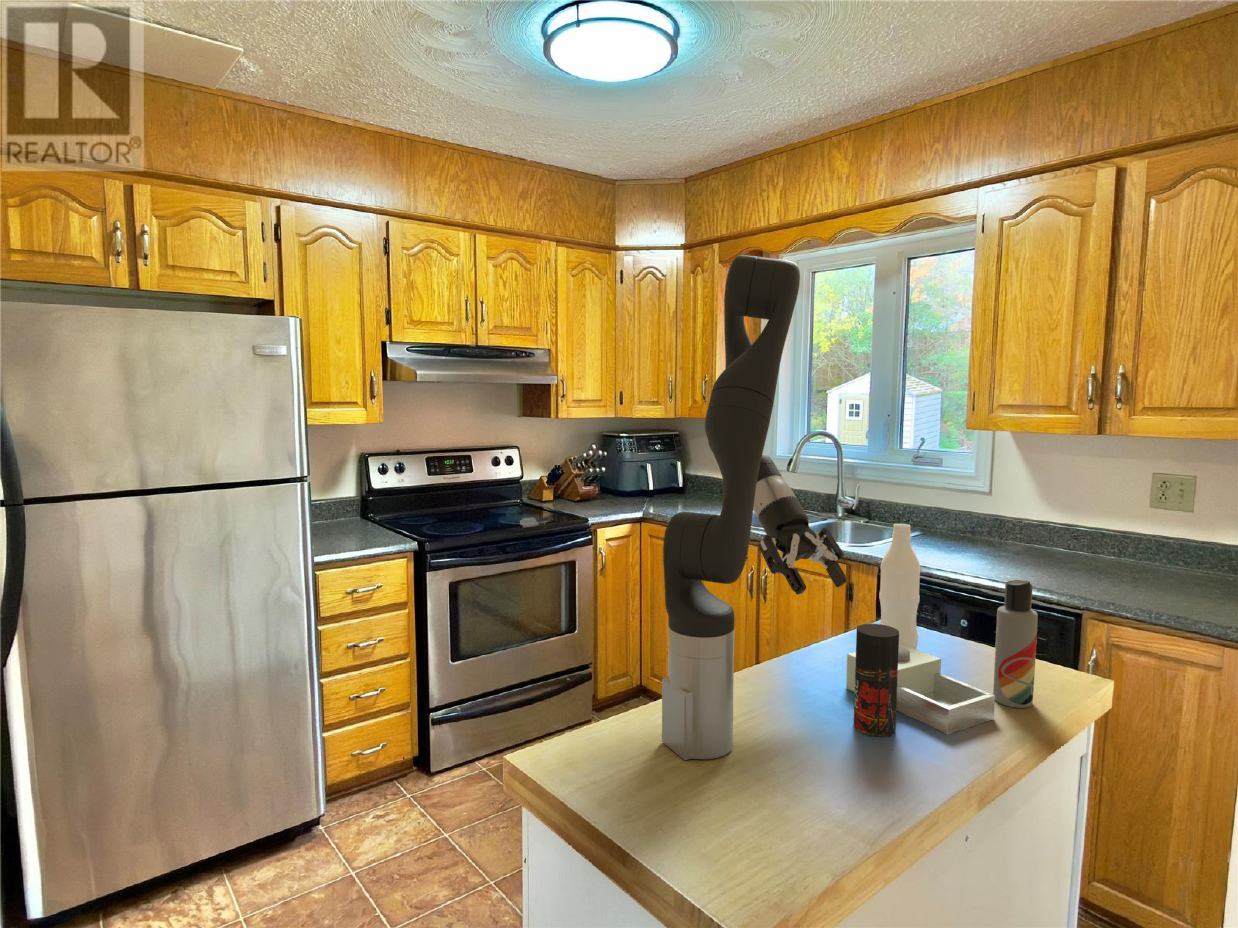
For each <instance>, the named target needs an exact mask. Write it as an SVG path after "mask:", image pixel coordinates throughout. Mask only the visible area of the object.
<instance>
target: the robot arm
mask: <svg viewBox="0 0 1238 928" xmlns="http://www.w3.org/2000/svg"><path fill="white" fill-rule="evenodd" d="M727 271H728V272H727V275H726V281H725V284H724V285H725V286H724V296H723V298H724V300H723V302H724V303H723V317H724V318H723V320H724V325H723V326H724V352H725V365H724V366H725V369H724V370H723V371H722V372H721V373H720V374H719V375H718V377H717V379H716V380H715V381H714V382H713V385H712V390H711V393H710V398H709V403H708V406H707V411H706V415H705V420H704V428H705V434H706V438H707V442H708V446H709V448H710V450H711V452H712V454H713V457H714V458H715V460H716V463H717V466H718V467H719V471H720V475H721V478H722V482H723V501H722V507H721V511H720V514H713V513H704V512H703V513H702V512H691V511H681V512H676V513H675V514H673V516H672V517H671V518H670V519H669V520H668V523H667V525H666V527H665V530H664V536H663V544H662V545H663V546H662V547H663V548H662V553H663V554H662V561H663V563H662V564H663V578H664V579H663V581H664V605H665V610H666V612H667V616H668V617H667V619H668V620H667V621H668V622H667V623H668V624H667V625H668V631H667V632H668V633H667V634H668V638H667V639H668V640H667V644H668V646H667V649H668V650H667V653H668V655H667V677H663V678H662V681H661V687H662V688H661V692H662V693H661V742H662V743H663V744H664V745H666V746H667V747H668V748H669V749H670V750H671V751H673V752H674V753H675V754H676V755H678V756H679V757H680V758H681V759H682V760H684V761H688V760H693V759H694V760H712V759H718V758H721V757H724V756H726V755H727V754H728V753H730V752H731V751H732V749H733V745H734V744H733V743H734V741H733V740H734V734H733V733H734V677H735V676H734V675H735V673H734V670H735V669H734V668H735V667H734V665H735V663H734V662H735V661H734V660H735V659H734V658H735V657H734V656H735V621H736V620H735V619H736V617H735V611H734V609H733V607H732V605H730V604H729V603H728V602H726V601H725V600H723V599H721V598H719V597H718V596H716V595H715V594H714V593H712V592H711V591H710V590H709V589H708V588H707V587H706V586H705V584H704V582H710V583H716V584H723V585H724V584H725V585H730V584H733V583H735V582H737V580H738V579H739V578H740V577H741V575H742V574H743V571H744V568H745V566H746V565H745V564H746V562H747V557H748V552H749V547H750V546H749V545H750V540H751V530H752V524H753V523H752V522H753V515H754V514H755V516H756V518H757V520H758V522H759V523H760V525H761V527H762V529H763V530H764V533H765V534H766V535H765V536H764V537H763V538H762V539H761V540H760V542H759V543H758V548H759V550H760V553H761V554H762V556H763V559H764V561H765V563H766V565H767V568H768V569H769V571H770V573H771V574H773V575H775V574H780V575H782V576H783V577H784V578H785V580H786V581H787V583H788V585H789V587H790V588H791V590H792V591H793V592H794V593H795V594H796V595H802V594H803V593H804V592H805V591H806V590H807V586H806V583H805V581H804V579H803V578H802V576H801V574H800V573H799V570H798V568H795V562H796V561H799V560H811V561H812V562H815V563H819V564H820V565H822V566H823V567H825V568H826V569H825V570H826V572H827V574H828V576H829V578H830V579H831V581H832V582H833V584H834V586H835V587H836V588H840V587H842V586H844V585H845V584H846V582H847V576H846V574H845V573H844V571H843V569H842V568H841V566H840V564H839V561H840V560H841V559H842V558H843V557H844V555H845V553H844V551H843V550H842V549H841V547H840V546H839V544H838V542H837V541H836V539H835V538H834V536H833V535H832V533H831V532H830V530H829V529H828V528H827V527H822V529H820V530H819V531H814V530H813V529H812V528H811V527H810V525H809V524H810V523H809V517H808V515H807V513H806V511H805V510H804V508H803V506H802V505H801V502H799V500H798V498H797V496H796V495H795V493H794V492H793V490H792V488H791V487H790V485H789V484H788V483H787V482H786V480H785V479H784V477H783V476H782V474H781V472H780V470H779V469H778V467H777V465H776V464H775V462H774V461H773V459H772V458H771V456H770V455H767V454H766V453H764V452H763V451H764V448H765V445H766V441H767V436H768V433H769V428H770V423H771V418H772V413H773V408H774V403H775V396H776V393H777V392H776V390H777V384H778V378H779V372H780V366H781V362H782V356H783V353H784V352H783V351H784V349H785V343H786V340H787V336H788V334H789V333H788V332H789V330H790V326H791V321H792V318H793V316H794V315H793V314H794V310H795V306H796V303H797V299H798V295H799V289H800V283H801V272H800V267H799V265H798V264H797V263H795V262H793V261H790V260H786V259H780V258H778V259H777V258H771V257H763V256H757V255H746V254H741V255H740V254H739V255H737V256H735V258H733V260H732V262H731V264H730V265H729V267H728V270H727ZM745 317H748V318H752V319H753V318H754V319H761V320H767V323H766V324H765V326H764V327H763V328H762V329H763V330H761V332H760V334H759V335H758V337H757V338H756V339H755V341H754V342H753V343H752V341H751V339H750V338H749V337H750V336H749V335H748V332H747V328H746V324H745ZM817 550H818V551H817ZM816 551H817V552H816ZM779 552H781V555H780V553H779ZM825 557H826V558H827V559H826V558H825Z"/></svg>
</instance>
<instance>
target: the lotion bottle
mask: <svg viewBox="0 0 1238 928" xmlns="http://www.w3.org/2000/svg"><path fill="white" fill-rule="evenodd" d="M1004 587H1005V588H1004V605H1002V606H999V607H998V608H997V612H996V629H995V630H996V631H995V633H996V634H995V648H994V649H995V651H994V667H993V668H994V669H993V685H992V686H993V688H992V690H993V691H992V694H993V695H995V702H997V703H1000V704H1001V705H1004V706H1007V707H1011V708H1017V709H1026V708H1030V707H1031V706H1032V705H1033V701H1034V693H1035V692H1034V690H1035V676H1036V673H1035V672H1036V670H1035V669H1036V654H1037V636H1038V618H1039V615H1038V612H1037V611H1035V610H1034V609H1032V601H1033V589H1034V588H1033V585H1032V583H1031V581H1029V580H1021V579H1012V580H1008V581H1007V582H1005V584H1004Z"/></svg>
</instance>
